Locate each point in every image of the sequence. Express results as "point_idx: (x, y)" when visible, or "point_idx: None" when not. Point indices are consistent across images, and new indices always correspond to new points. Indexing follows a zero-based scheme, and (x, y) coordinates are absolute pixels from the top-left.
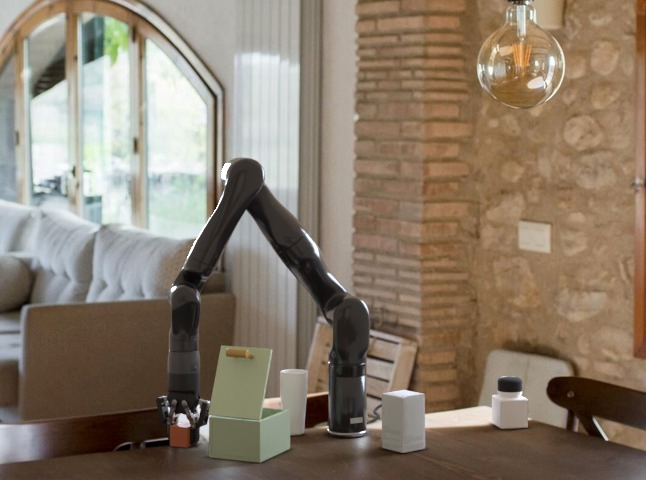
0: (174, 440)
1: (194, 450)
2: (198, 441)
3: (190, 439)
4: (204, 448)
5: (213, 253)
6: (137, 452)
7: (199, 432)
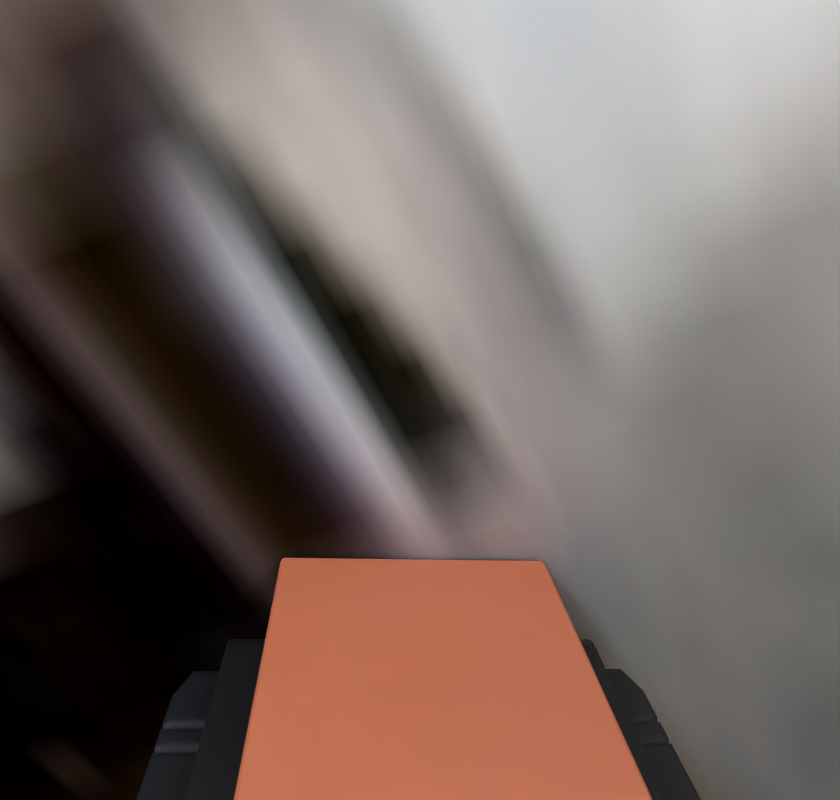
0: None
1: None
2: (621, 677)
3: None
4: (707, 700)
5: None
6: None
7: (689, 778)
